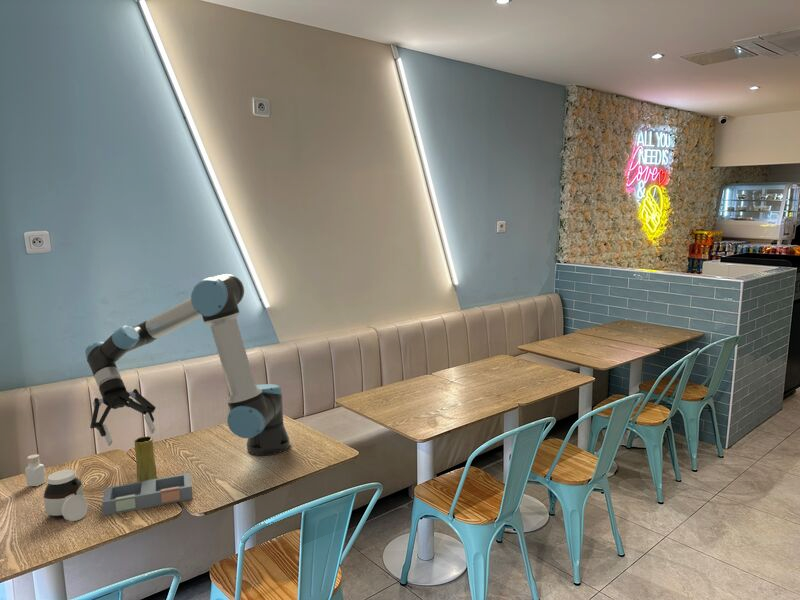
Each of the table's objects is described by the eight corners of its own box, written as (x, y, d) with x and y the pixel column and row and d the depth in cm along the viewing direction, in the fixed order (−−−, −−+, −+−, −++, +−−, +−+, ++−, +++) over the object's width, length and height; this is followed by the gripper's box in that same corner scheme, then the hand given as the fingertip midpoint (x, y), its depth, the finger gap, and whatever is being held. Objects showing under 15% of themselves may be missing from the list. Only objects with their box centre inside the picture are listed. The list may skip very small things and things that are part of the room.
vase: (133, 482, 186) (129, 439, 184) (152, 475, 190) (148, 434, 188) (142, 488, 182) (137, 444, 180) (161, 481, 186) (157, 438, 184)
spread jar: (63, 504, 173) (58, 467, 171) (100, 504, 173) (96, 466, 171) (37, 525, 161) (32, 486, 160) (77, 525, 161) (72, 485, 159)
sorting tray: (191, 484, 183) (190, 471, 183) (192, 499, 174) (191, 486, 173) (106, 500, 175) (105, 486, 174) (103, 516, 165) (101, 502, 164)
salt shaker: (37, 487, 184) (33, 459, 183) (26, 487, 185) (22, 458, 183) (47, 482, 188) (43, 454, 186) (36, 481, 189) (32, 453, 187)
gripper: (144, 381, 208) (167, 432, 200) (67, 398, 190) (88, 454, 182) (149, 369, 203) (172, 420, 195) (71, 386, 186) (93, 443, 177)
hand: (132, 437), depth 189 cm, fingers open, 13 cm apart
